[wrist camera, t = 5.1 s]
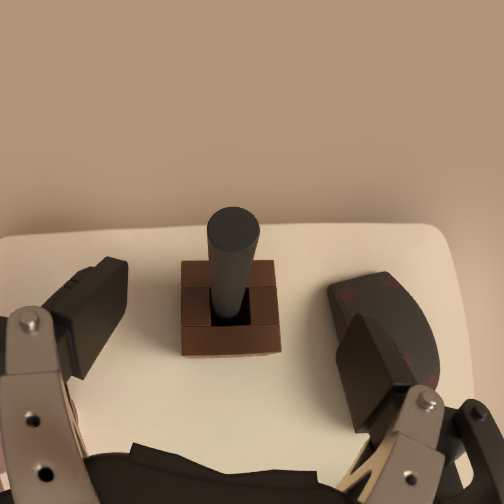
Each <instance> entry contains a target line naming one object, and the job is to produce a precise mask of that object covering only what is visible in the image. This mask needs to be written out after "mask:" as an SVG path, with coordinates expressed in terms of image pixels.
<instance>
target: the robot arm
mask: <svg viewBox="0 0 504 504" xmlns="http://www.w3.org/2000/svg"><path fill="white" fill-rule="evenodd" d="M127 289H128V263H127V262H126V261H123V260H119V259H115V258H112V257H105V258H104V259H103V260H102V261H101V262H100V263H98V264H97V265H96V266H95V267H91V266H90V267H88V268H85V269H83V270H80V271H78V272H77V273H76V274H75V275H74V276H73V277H72V278H71V279H70V281H69V280H68V281H67V282H66V283H65V284H64V285H63V287H61V288H60V289H59V290H58V291H56V292H55V293H54V294H53V295H52V296H51V297H50V298H49V299H48V300H47V301H46V302H45V303H44V304H43V305H42V306H41V307H38V306H26V307H22V308H19V309H17V310H15V311H14V312H13V313H12V314H11V315H10V316H9V317H2V316H0V432H1V440H2V447H3V454H4V460H5V465H6V470H7V475H8V480H9V484H10V488H11V489H9V490H6V491H3V492H1V493H0V504H504V439H503V437H502V434H501V432H500V430H499V428H498V426H497V424H496V423H495V421H494V419H493V417H492V415H491V413H490V411H489V410H488V409H487V407H486V406H485V405H484V404H483V403H481V402H479V401H477V400H475V399H468V400H466V401H465V402H464V403H463V404H462V406H461V407H460V408H459V409H453V408H449V407H445V406H444V402H443V400H442V398H441V397H440V396H439V394H438V393H437V392H435V391H434V390H433V389H431V388H429V387H427V386H424V385H418V383H417V381H416V379H415V377H414V375H413V373H412V371H411V369H410V367H409V366H408V364H407V362H406V360H404V356H403V354H402V353H401V352H400V349H399V347H398V345H397V343H396V342H395V340H394V339H393V338H392V337H391V336H390V335H389V334H388V333H387V332H386V331H384V329H383V327H382V325H381V323H380V322H379V320H378V318H377V317H376V316H371V315H365V314H360V313H356V314H355V315H354V316H353V318H352V319H351V322H350V324H349V326H348V328H347V330H346V332H345V334H344V336H343V338H342V340H341V342H340V344H339V346H338V349H337V353H336V364H337V367H338V371H339V374H340V378H341V381H342V385H343V389H344V392H345V396H346V400H347V403H348V407H349V411H350V415H351V419H352V422H353V426H354V430H355V433H369V435H370V438H369V439H368V440H367V441H366V442H365V443H364V445H363V447H362V449H361V451H360V452H359V454H358V456H357V457H356V459H355V461H354V462H353V464H352V466H351V467H350V469H349V471H348V472H347V474H346V475H345V477H344V478H343V480H342V481H341V482H340V484H339V485H338V486H337V487H336V488H333V487H331V486H328V485H324V484H321V483H318V479H317V471H292V470H275V469H274V470H267V471H259V472H250V473H240V474H224V473H220V472H218V471H215V470H213V469H210V468H208V467H205V466H203V465H200V464H198V463H196V462H193V461H191V460H189V459H186V458H184V457H182V456H180V455H177V454H173V453H169V452H165V451H161V450H157V449H154V448H150V447H147V446H143V445H140V444H137V443H134V442H133V444H132V447H131V450H130V453H123V452H112V453H101V454H96V455H91V456H89V455H88V452H87V450H86V447H85V444H84V442H83V439H82V436H81V433H80V430H79V427H78V423H77V420H76V416H75V413H74V409H73V405H72V402H71V398H70V394H69V389H68V386H67V381H68V380H69V378H70V377H71V375H72V376H74V377H76V378H79V379H81V380H84V378H85V376H86V375H87V373H88V371H89V370H90V368H91V366H92V365H93V363H94V361H95V360H96V358H97V356H98V355H99V353H100V352H101V350H102V348H103V347H104V345H105V344H106V342H107V341H108V339H109V337H110V336H111V334H112V333H113V331H114V330H115V328H116V327H117V325H118V323H119V322H120V320H121V319H122V317H123V315H124V313H125V310H126V306H127ZM465 451H466V453H467V455H468V458H469V460H470V463H471V466H472V468H473V471H474V477H473V480H472V482H471V483H470V485H469V486H467V487H466V488H465V489H463V486H462V483H461V480H460V477H459V474H458V471H457V468H456V465H455V463H454V461H455V460H456V459H458V458H459V457H460V456H461V455H462V454H463V453H464V452H465Z"/></svg>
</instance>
